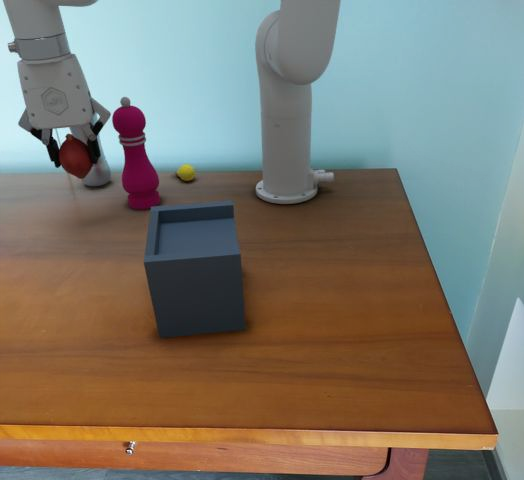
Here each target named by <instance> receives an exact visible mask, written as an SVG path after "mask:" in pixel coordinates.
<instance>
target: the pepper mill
mask: <svg viewBox="0 0 524 480" xmlns="http://www.w3.org/2000/svg"><path fill="white" fill-rule="evenodd" d="M119 104H120V105H121V106H118V108H116V109H115V110H114V111H113V113H112V118H111V122H112V126H113V129H114V130H115V131H116V132H117V133H118V135H117V138H118V143H119V145H121V146H122V149H123V154H124V164H123V169H122V172H121V186H122V189H123V190H124V191H125V192H126V193H127V194H128V195H127V202H128V206H129V207H130V208H132V209H134V210H148V209H151V207H154V206H159V204H160V203H161V199H160V192H159V191H158V190H157V189H158V188H159V186H160V178H159V174H158V172H157V170H156V168H155V166H154V165H153V164H152V163H151V160H150V159H149V156H148V154H147V151H146V144H145V143H146V142H147V138H146V132H145V131H144V130H145V128H146V124H147V120H146V116H145V114H144V113H143V111H142V109H140V108H139V107H137V106H135V105H131V99H130V98H129V97H128V96H123V97H121V99H120V103H119Z"/></svg>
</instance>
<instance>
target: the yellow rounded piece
mask: <svg viewBox="0 0 524 480" xmlns="http://www.w3.org/2000/svg"><path fill="white" fill-rule="evenodd" d="M174 175H175V176H176V177H179V178H180V179H181V180H182V181H185V182H189V181H192V180H193V179H194V178H195V176H196V170H195V168H194V167H193V165H191V164H188V163H186V164H182V165H181V166H180V167H179V168H178V169H176V170H175V171H174Z"/></svg>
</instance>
